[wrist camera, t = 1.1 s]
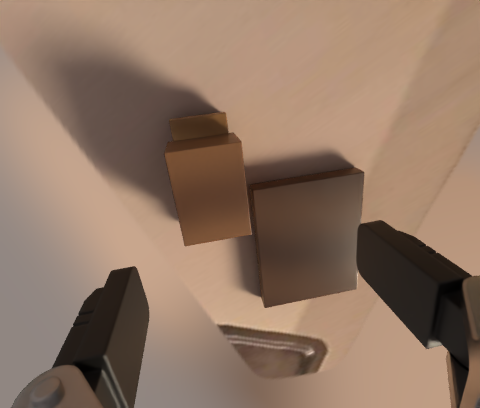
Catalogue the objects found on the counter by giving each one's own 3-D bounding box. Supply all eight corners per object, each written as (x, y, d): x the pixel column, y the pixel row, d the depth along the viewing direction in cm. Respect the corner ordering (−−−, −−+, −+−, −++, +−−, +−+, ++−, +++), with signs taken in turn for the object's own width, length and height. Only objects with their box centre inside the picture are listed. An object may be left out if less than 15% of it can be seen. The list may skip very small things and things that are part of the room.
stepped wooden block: (164, 118, 23) (158, 129, 18) (228, 109, 23) (238, 117, 18) (188, 230, 27) (188, 263, 22) (242, 221, 27) (253, 251, 22)
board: (249, 184, 26) (252, 190, 24) (355, 167, 27) (364, 171, 25) (261, 298, 31) (264, 308, 30) (349, 280, 32) (357, 289, 31)
